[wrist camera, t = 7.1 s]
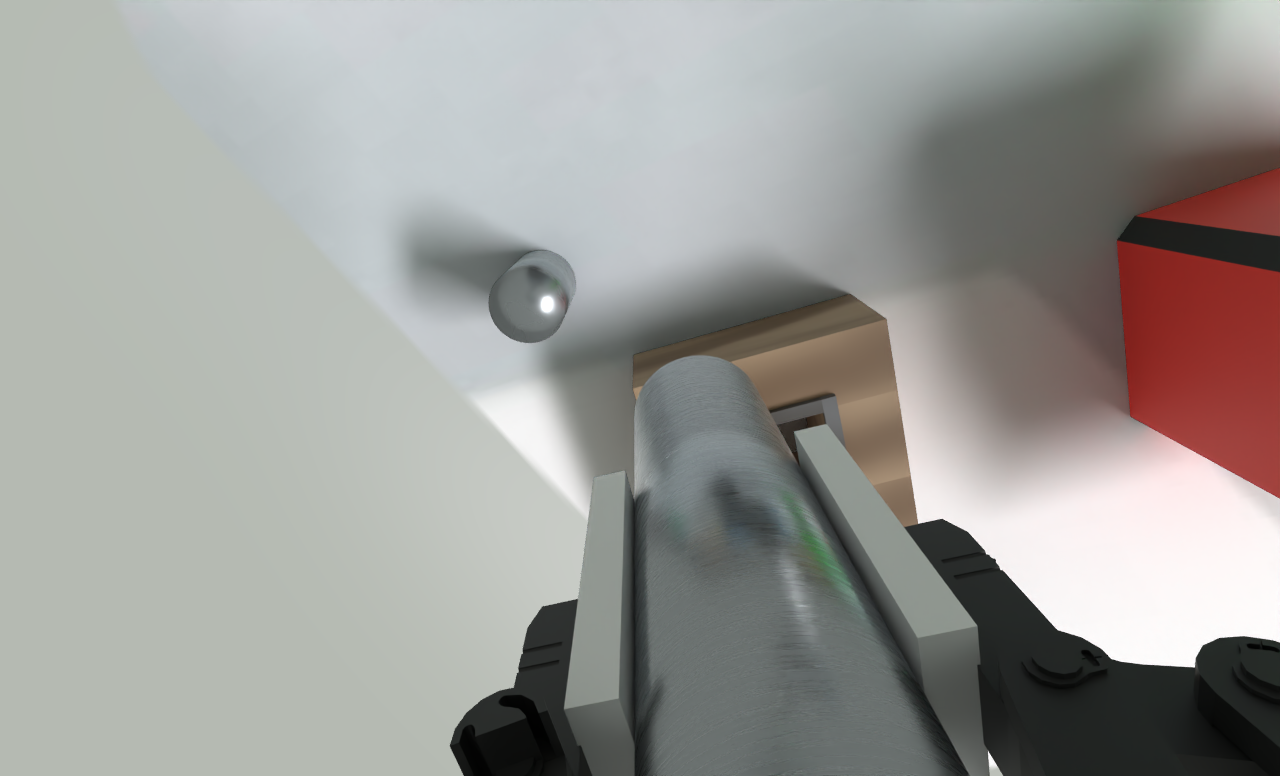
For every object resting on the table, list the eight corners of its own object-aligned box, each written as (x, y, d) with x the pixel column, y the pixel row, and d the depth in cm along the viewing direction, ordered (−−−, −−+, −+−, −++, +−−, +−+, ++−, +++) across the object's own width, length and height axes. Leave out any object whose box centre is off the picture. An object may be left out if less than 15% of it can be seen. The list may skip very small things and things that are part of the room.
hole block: (633, 354, 40) (632, 391, 34) (850, 294, 38) (889, 321, 32) (689, 532, 45) (696, 591, 39) (883, 484, 43) (922, 538, 37)
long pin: (619, 372, 19) (588, 846, 6) (749, 341, 19) (1027, 765, 5) (651, 485, 20) (683, 1081, 7) (772, 458, 20) (1040, 1027, 7)
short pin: (501, 260, 38) (477, 280, 32) (563, 241, 37) (550, 258, 32) (524, 322, 39) (504, 351, 33) (584, 304, 39) (575, 331, 33)
